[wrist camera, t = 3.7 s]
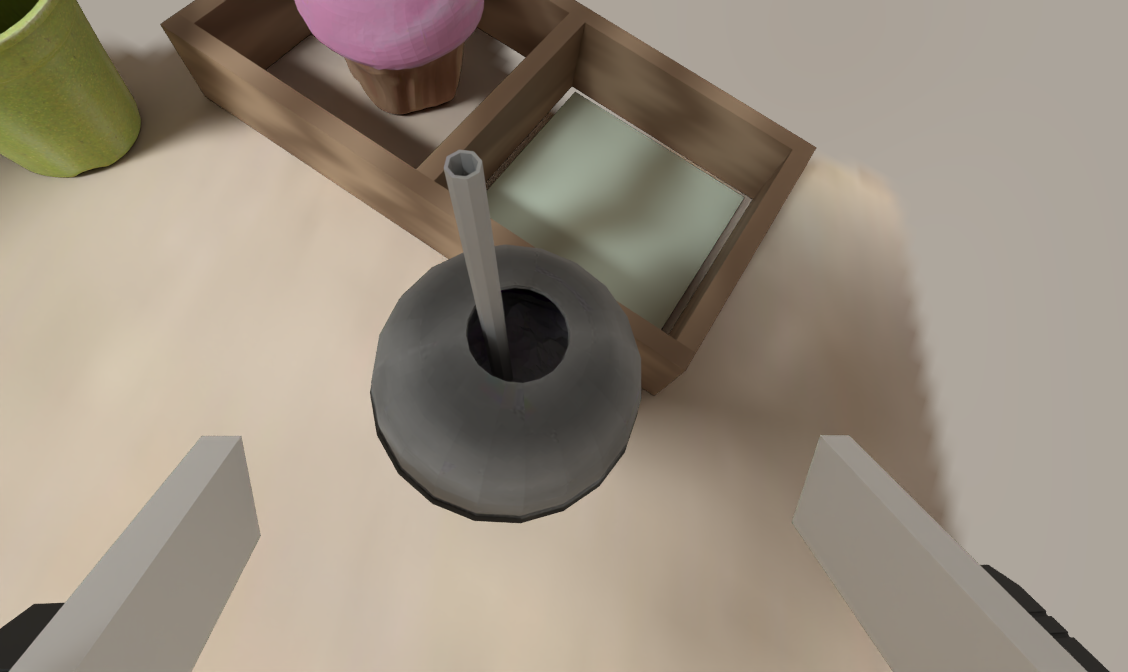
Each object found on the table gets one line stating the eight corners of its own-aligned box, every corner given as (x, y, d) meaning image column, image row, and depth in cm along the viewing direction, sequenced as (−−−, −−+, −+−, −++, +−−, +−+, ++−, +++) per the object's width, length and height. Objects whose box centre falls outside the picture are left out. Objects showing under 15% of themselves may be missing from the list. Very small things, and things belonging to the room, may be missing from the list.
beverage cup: (523, 562, 24) (670, 644, 5) (383, 475, 24) (80, 280, 6) (600, 421, 27) (875, 157, 8) (473, 345, 27) (459, -72, 9)
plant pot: (122, 231, 27) (-34, 99, 19) (-78, 179, 26) (-328, 19, 18) (209, 88, 30) (110, -76, 22) (34, 39, 30) (-133, -147, 21)
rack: (204, 96, 30) (160, 24, 26) (386, -45, 35) (373, -123, 31) (654, 396, 28) (685, 370, 23) (773, 197, 33) (816, 147, 29)
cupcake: (509, 113, 32) (521, -58, 23) (374, 172, 30) (326, 6, 20) (432, 11, 34) (415, -185, 25) (298, 58, 32) (223, -142, 22)
